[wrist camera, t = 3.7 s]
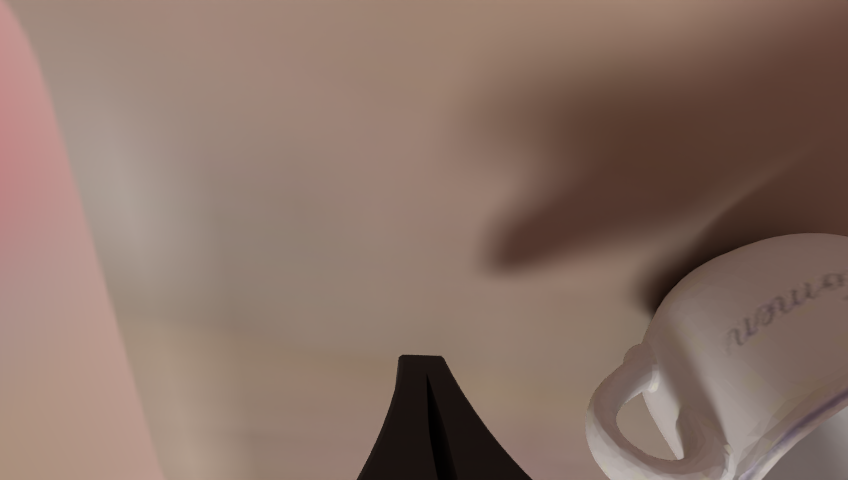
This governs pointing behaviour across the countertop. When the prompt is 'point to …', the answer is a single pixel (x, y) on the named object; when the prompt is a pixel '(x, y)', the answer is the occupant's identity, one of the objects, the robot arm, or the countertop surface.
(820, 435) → the teacup
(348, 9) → the countertop surface
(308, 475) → the countertop surface
